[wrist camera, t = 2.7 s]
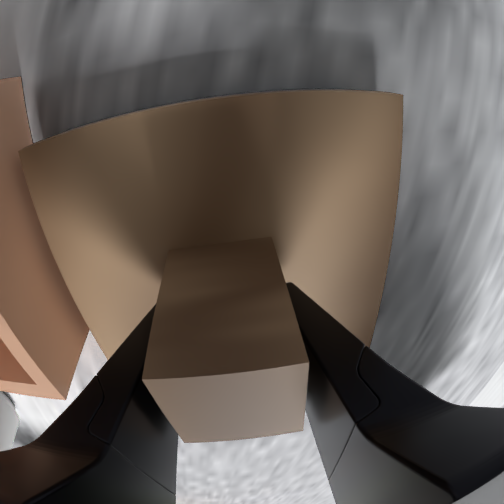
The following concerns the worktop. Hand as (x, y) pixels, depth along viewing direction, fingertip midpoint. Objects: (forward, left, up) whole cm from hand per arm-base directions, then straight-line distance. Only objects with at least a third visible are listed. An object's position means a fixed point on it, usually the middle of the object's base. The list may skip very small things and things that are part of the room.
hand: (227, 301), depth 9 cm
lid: (0, 0, -2) cm, 2 cm away
